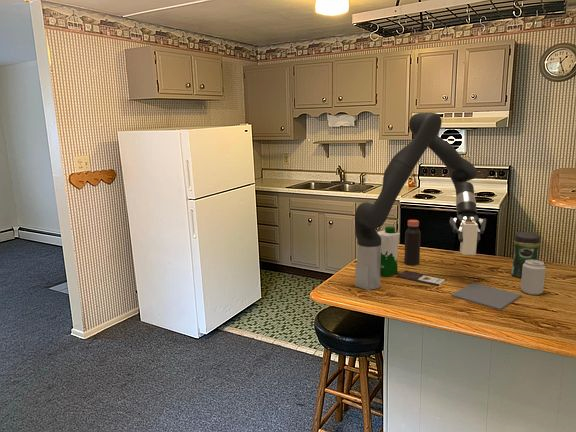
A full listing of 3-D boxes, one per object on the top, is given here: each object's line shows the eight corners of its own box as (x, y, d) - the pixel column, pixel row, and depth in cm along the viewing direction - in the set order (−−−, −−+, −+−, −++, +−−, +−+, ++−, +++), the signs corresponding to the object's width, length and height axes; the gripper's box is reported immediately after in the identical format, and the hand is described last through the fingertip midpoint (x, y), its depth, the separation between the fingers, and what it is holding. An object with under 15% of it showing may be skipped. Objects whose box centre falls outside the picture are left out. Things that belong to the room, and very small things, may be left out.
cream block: (475, 255, 169) (478, 224, 167) (462, 254, 170) (464, 223, 168) (473, 251, 174) (475, 221, 171) (459, 251, 175) (461, 220, 173)
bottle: (401, 262, 203) (402, 220, 199) (412, 260, 206) (413, 218, 202) (411, 266, 197) (413, 223, 193) (422, 264, 200) (424, 221, 196)
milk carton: (400, 273, 188) (402, 228, 184) (386, 278, 183) (388, 231, 179) (384, 268, 195) (385, 225, 191) (370, 273, 189) (371, 228, 185)
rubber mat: (500, 310, 149) (500, 308, 149) (450, 296, 163) (450, 294, 162) (521, 296, 161) (521, 294, 161) (473, 284, 174) (473, 282, 174)
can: (531, 296, 160) (534, 265, 158) (515, 289, 168) (518, 259, 165) (547, 294, 162) (551, 263, 160) (531, 287, 169) (534, 257, 167)
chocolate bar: (405, 270, 191) (446, 278, 179) (405, 272, 191) (446, 280, 180) (395, 276, 184) (437, 285, 173) (395, 278, 184) (437, 287, 173)
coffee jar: (537, 274, 184) (541, 231, 180) (537, 280, 177) (541, 235, 173) (511, 271, 188) (515, 229, 185) (510, 277, 181) (514, 233, 178)
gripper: (448, 199, 177) (451, 236, 168) (487, 200, 174) (491, 237, 165) (446, 210, 183) (448, 245, 174) (483, 211, 180) (487, 247, 171)
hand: (469, 241), depth 169 cm, fingers closed on cream block, 5 cm apart
